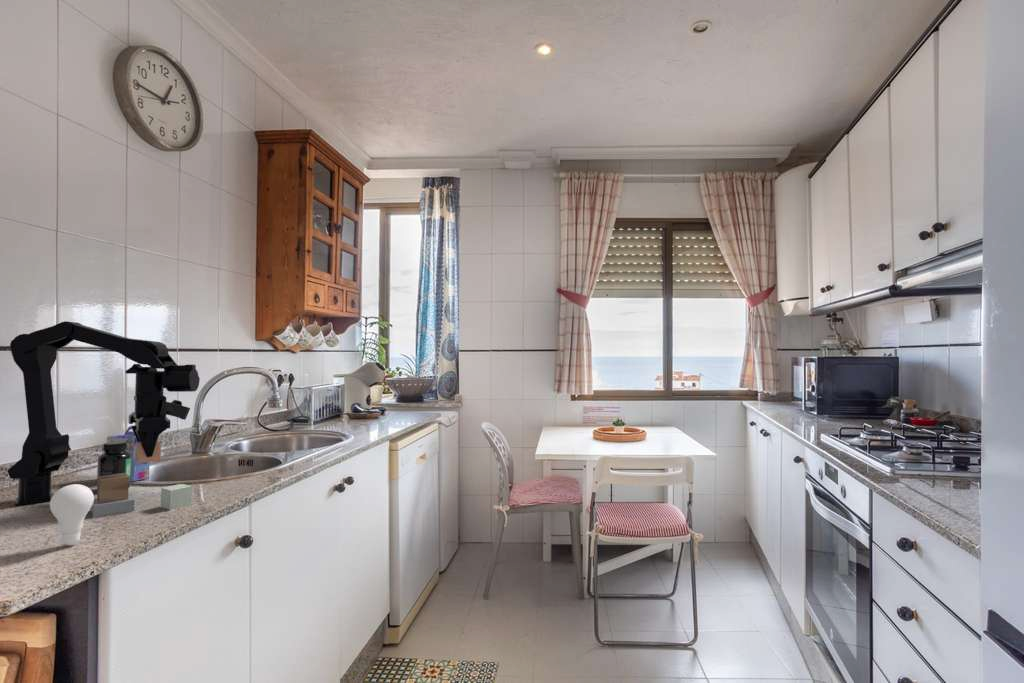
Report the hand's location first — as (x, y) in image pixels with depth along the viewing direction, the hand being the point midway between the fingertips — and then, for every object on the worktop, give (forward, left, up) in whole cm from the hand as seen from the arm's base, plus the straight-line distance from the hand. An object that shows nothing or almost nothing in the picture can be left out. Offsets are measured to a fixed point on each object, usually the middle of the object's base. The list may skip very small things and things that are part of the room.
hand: (147, 455), depth 125 cm
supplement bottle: (-14, -5, -10) cm, 18 cm away
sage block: (+14, +4, -10) cm, 18 cm away
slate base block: (+9, -7, -11) cm, 16 cm away
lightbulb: (+30, -15, -10) cm, 35 cm away
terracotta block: (0, 0, -1) cm, 1 cm away
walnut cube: (+9, -7, -8) cm, 14 cm away
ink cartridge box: (-25, -1, -10) cm, 27 cm away
